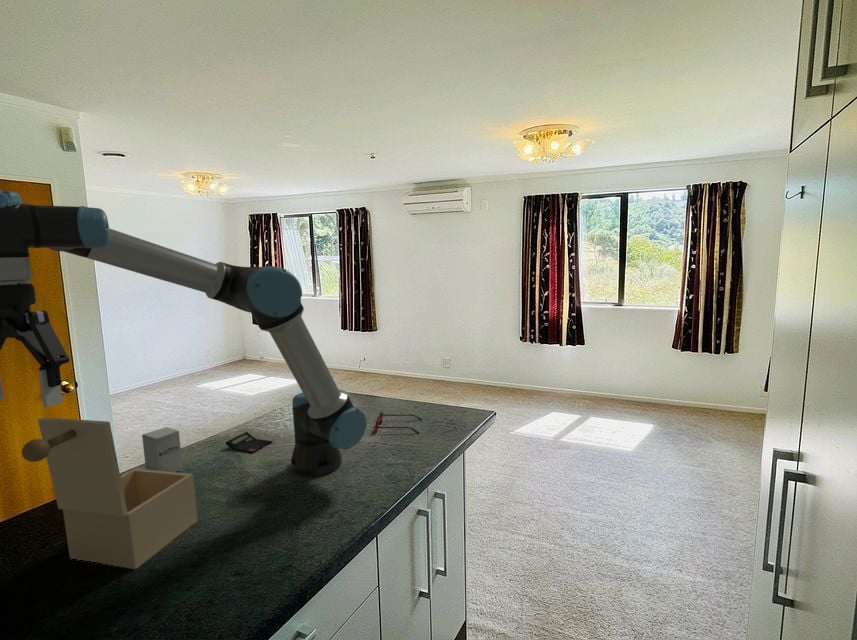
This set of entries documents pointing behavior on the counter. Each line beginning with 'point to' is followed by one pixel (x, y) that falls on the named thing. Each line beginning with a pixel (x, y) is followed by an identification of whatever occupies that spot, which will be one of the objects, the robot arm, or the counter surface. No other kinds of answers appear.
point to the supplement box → (162, 450)
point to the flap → (80, 464)
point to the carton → (135, 520)
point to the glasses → (391, 427)
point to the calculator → (247, 443)
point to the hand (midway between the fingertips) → (23, 403)
